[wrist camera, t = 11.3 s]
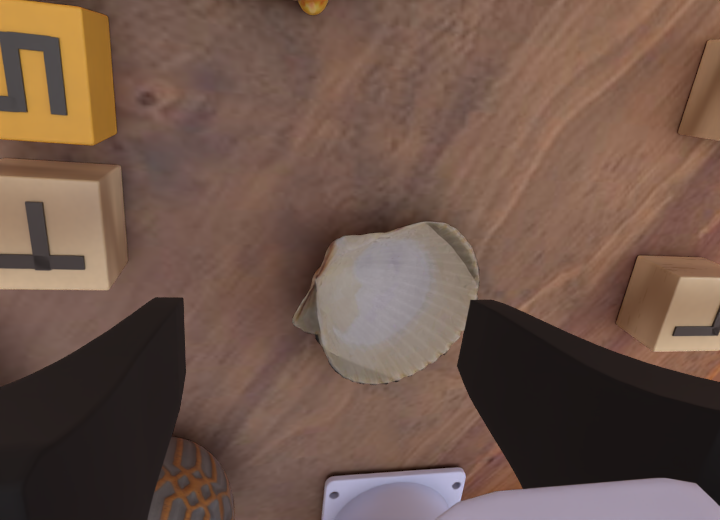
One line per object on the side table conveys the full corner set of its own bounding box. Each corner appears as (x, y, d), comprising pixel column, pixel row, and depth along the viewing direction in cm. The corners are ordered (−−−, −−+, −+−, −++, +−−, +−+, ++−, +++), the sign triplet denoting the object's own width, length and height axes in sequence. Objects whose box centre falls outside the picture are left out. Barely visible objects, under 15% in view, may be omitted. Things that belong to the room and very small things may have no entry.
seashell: (398, 353, 26) (503, 249, 23) (413, 400, 24) (533, 292, 20) (262, 304, 22) (365, 169, 19) (265, 356, 20) (383, 213, 16)
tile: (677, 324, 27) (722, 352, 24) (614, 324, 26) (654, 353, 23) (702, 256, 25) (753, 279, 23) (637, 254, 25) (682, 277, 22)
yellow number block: (118, 134, 18) (93, 146, 15) (-5, 125, 17) (-52, 136, 15) (108, 15, 17) (79, 6, 14) (-25, -1, 16) (-82, -14, 13)
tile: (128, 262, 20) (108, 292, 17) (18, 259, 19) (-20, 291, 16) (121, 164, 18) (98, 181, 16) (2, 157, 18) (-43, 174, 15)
